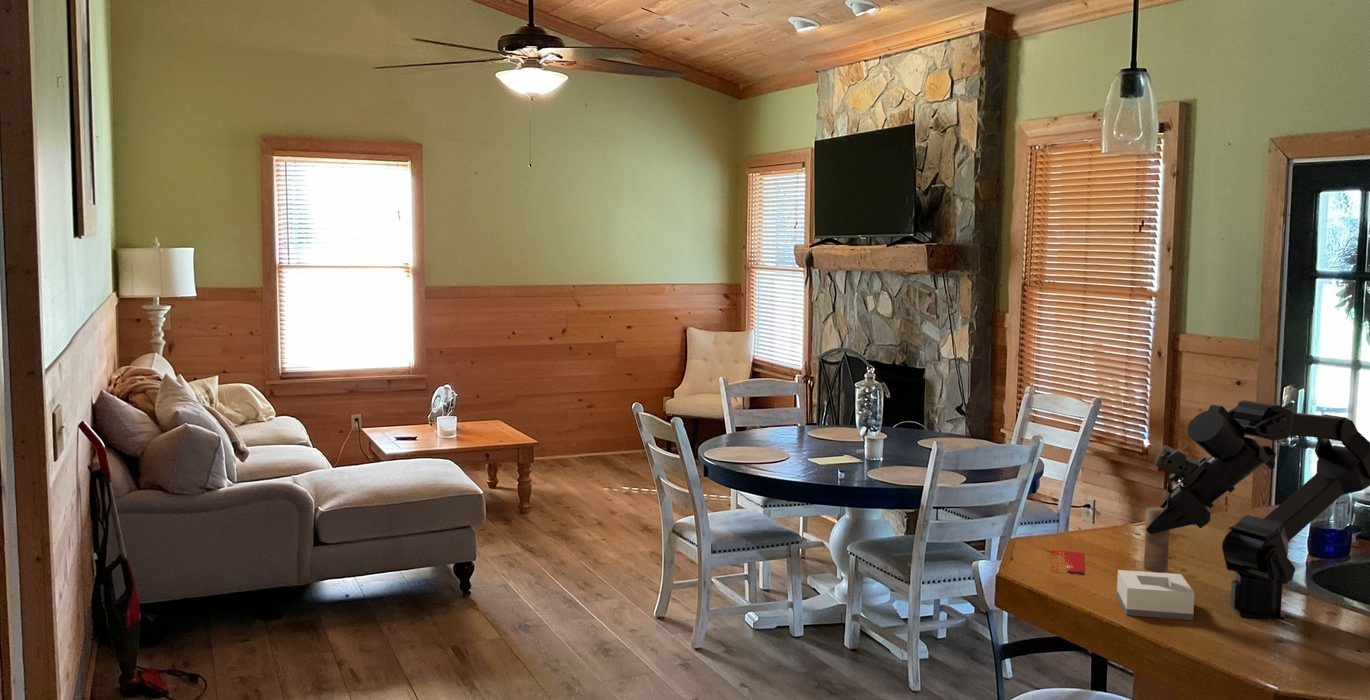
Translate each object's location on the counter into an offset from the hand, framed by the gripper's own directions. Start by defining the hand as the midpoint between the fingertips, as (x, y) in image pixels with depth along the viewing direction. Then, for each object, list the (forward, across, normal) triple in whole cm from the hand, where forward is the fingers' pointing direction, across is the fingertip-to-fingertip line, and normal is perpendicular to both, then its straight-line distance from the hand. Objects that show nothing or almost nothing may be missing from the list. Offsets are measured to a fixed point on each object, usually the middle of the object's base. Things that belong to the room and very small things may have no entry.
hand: (1148, 528), depth 177 cm
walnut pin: (+4, 0, +6) cm, 7 cm away
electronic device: (+19, -21, 0) cm, 29 cm away
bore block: (+8, 0, +10) cm, 13 cm away
